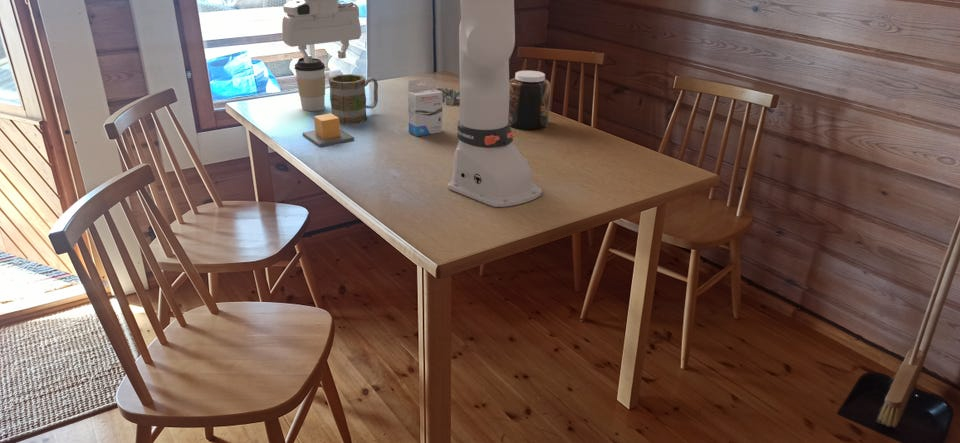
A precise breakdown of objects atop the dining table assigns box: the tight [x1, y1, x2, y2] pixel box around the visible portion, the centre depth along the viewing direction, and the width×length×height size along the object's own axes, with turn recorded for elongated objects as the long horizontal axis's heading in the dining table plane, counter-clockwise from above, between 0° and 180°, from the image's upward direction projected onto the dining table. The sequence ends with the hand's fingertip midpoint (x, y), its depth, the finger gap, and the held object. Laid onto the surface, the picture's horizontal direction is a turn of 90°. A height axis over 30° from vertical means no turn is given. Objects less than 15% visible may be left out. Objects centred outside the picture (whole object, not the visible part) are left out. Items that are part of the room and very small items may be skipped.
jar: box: [508, 70, 551, 131], centre depth 195 cm, size 12×12×15 cm
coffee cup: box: [294, 57, 326, 112], centre depth 205 cm, size 9×9×15 cm
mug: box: [328, 73, 379, 125], centre depth 198 cm, size 16×11×12 cm
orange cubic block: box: [313, 113, 341, 139], centre depth 182 cm, size 5×5×5 cm
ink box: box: [407, 77, 443, 137], centre depth 187 cm, size 8×5×15 cm, turn 123°
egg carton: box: [434, 86, 460, 106], centre depth 219 cm, size 11×8×4 cm
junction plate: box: [302, 128, 355, 148], centre depth 183 cm, size 11×10×4 cm
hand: (325, 60), depth 174 cm, fingers open, 8 cm apart
